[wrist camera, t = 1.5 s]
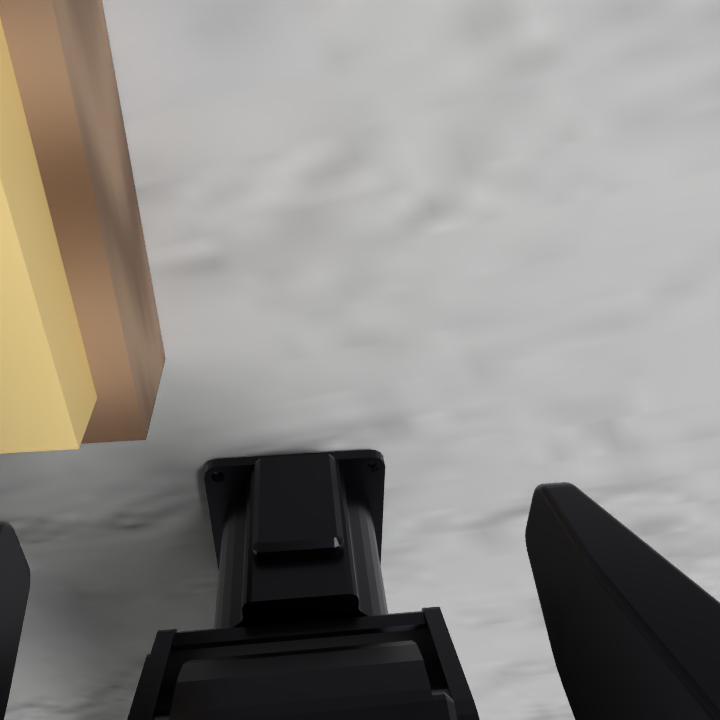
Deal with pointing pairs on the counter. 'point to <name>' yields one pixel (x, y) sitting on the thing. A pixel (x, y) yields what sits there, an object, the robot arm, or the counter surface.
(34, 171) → the pale yellow rectangular block
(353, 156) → the counter surface
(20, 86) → the brown box
